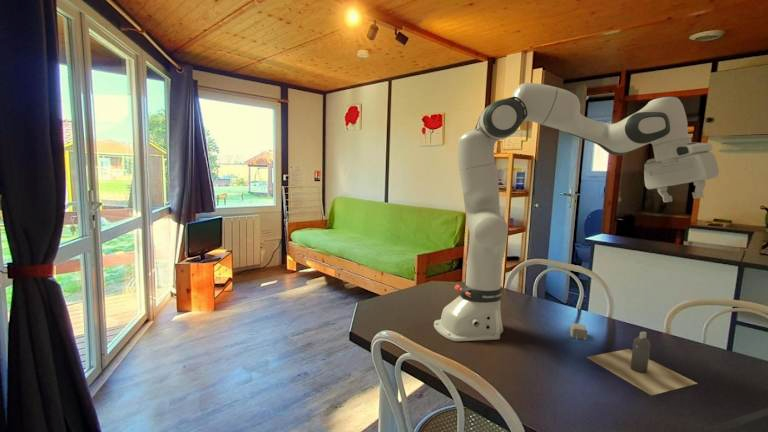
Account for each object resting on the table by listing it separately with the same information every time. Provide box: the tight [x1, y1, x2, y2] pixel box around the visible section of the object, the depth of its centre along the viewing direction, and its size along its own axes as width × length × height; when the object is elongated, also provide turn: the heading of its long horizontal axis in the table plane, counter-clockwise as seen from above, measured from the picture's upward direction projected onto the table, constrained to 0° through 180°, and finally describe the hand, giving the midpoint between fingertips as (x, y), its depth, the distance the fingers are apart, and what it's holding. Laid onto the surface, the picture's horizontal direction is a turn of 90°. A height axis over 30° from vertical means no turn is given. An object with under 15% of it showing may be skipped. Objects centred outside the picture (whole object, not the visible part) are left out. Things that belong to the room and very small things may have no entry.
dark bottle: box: [630, 331, 651, 373], centre depth 96 cm, size 4×4×10 cm
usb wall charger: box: [569, 322, 588, 341], centre depth 115 cm, size 4×7×4 cm, turn 161°
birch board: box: [586, 348, 699, 396], centre depth 97 cm, size 16×18×1 cm
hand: (682, 200), depth 107 cm, fingers open, 8 cm apart
